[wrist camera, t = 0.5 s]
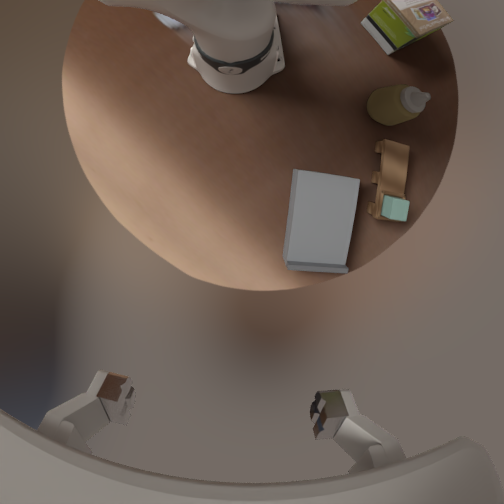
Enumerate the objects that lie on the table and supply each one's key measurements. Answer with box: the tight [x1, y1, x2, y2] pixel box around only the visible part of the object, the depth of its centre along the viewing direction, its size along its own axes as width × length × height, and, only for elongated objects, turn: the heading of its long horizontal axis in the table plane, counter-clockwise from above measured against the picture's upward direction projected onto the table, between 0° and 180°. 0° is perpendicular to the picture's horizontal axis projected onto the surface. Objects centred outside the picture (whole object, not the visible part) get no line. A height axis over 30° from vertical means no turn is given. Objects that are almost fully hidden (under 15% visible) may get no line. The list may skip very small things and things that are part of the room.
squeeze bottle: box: [367, 84, 431, 126], centre depth 38 cm, size 8×8×18 cm
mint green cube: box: [381, 195, 410, 221], centre depth 47 cm, size 4×4×4 cm
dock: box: [283, 169, 360, 273], centre depth 50 cm, size 18×12×7 cm, turn 175°
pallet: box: [367, 139, 410, 223], centre depth 49 cm, size 16×6×5 cm, turn 175°
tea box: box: [361, 0, 453, 55], centre depth 32 cm, size 15×10×15 cm
